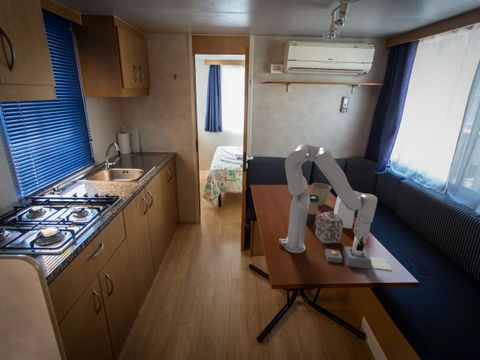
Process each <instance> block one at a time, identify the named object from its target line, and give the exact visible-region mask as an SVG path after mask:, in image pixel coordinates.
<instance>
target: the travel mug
mask: <svg viewBox="0 0 480 360" xmlns="http://www.w3.org/2000/svg"><path fill="white" fill-rule="evenodd" d="M309 196H310V204H309V209H308V214H307V222H306V226H315V224H316V221H317V215H318V208H319V206H318V202H319V197H318V196H316V195H313V194H309Z"/></svg>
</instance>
